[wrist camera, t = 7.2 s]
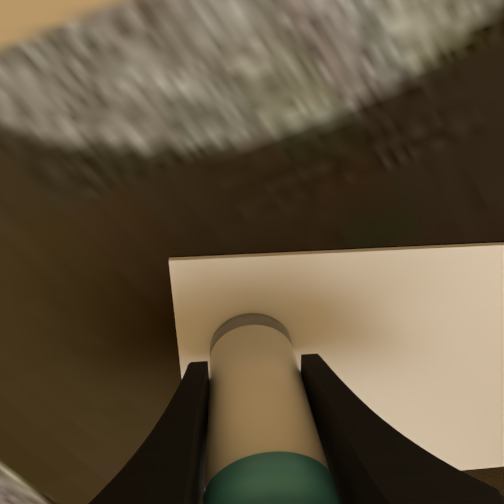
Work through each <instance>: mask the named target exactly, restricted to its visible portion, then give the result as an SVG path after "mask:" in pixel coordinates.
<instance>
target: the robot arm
mask: <svg viewBox="0 0 504 504" xmlns="http://www.w3.org/2000/svg"><path fill="white" fill-rule="evenodd" d="M300 373H301V377H302V380H303V383H304V387H305V390H306V394H307V397H308V400H309V404H310V407H311V410H312V414H313V417H314V421H315V424H316V427H317V431H318V434H319V438H320V441H321V444H322V448H323V451H324V455H325V458H326V461H327V465H328V468H329V471H330V473H331V475H332V476H333V479H334V482H335V485H336V488H337V492H338V495H339V498H340V502H341V504H504V497H503V496H502V495H501V494H500V493H499V491H498V490H497V489H496V488H494V487H492V486H490V485H488V484H486V483H484V482H482V481H480V480H478V479H476V478H474V477H472V476H470V475H468V474H466V473H464V472H462V471H460V470H458V469H456V468H455V467H453V466H451V465H450V464H448V463H446V462H444V461H443V460H441V459H439V458H437V457H436V456H434V455H433V454H431V453H429V452H428V451H426V450H425V449H423V448H422V447H420V446H419V445H417V444H416V443H414V442H413V441H411V440H410V439H408V438H407V437H405V436H404V435H403V434H401V433H400V432H398V431H397V430H396V429H395V428H393V427H392V426H391V425H389V424H388V423H387V422H386V421H384V420H383V419H382V418H381V417H379V416H378V415H377V414H376V413H375V412H374V411H372V410H371V409H370V408H369V407H368V406H367V405H366V404H365V403H364V402H363V401H362V400H361V399H360V398H359V397H357V396H356V395H355V394H354V393H353V392H352V390H351V389H350V388H349V387H348V386H347V385H346V384H345V383H344V382H343V381H342V380H341V379H340V378H339V377H338V376H337V375H336V374H335V372H334V371H333V370H332V369H331V368H330V367H329V366H328V365H327V363H326V362H325V361H324V360H323V359H322V358H321V356H320V355H319V354H303V355H301V371H300ZM208 399H209V372H208V361H200V362H190V363H189V364H188V366H187V369H186V371H185V374H184V376H183V378H182V380H181V383H180V385H179V387H178V389H177V391H176V392H175V394H174V396H173V398H172V400H171V401H170V403H169V405H168V407H167V408H166V410H165V412H164V413H163V415H162V416H161V418H160V419H159V421H158V423H157V424H156V426H155V427H154V429H153V430H152V432H151V433H150V434H149V436H148V437H147V439H146V440H145V441H144V443H143V444H142V445H141V446H140V448H139V449H138V450H137V452H136V453H135V454H134V455H133V456H132V458H131V459H130V460H129V461H128V462H127V464H126V465H125V466H124V467H123V468H122V469H121V471H120V472H119V473H118V474H117V475H116V476H115V477H114V478H113V479H112V480H111V481H110V482H109V483H108V484H107V486H106V487H105V488H104V489H103V490H102V491H101V492H100V493H99V494H98V495H97V496H96V497H95V498H94V499H93V500H92V501H91V502H90V503H89V504H203V495H204V491H205V476H206V449H207V422H208Z"/></svg>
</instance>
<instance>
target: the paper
mask: <svg viewBox="0 0 504 504" xmlns="http://www.w3.org/2000/svg"><path fill="white" fill-rule="evenodd" d="M169 270H170V279H171V288H172V297H173V306H174V315H175V324H176V333H177V342H178V351H179V360H180V369H181V378H183V376H184V374H185V371H186V369H187V366H188V364H189V363H190V362H200V361H208V372H209V368H210V344H211V340H212V337H213V335H214V333H215V332H216V330H217V329H218V328H219V327H220V326H221V325H222V324H223V323H224V322H226V321H227V320H229V319H231V318H233V317H235V316H238V315H242V314H248V313H258V314H264V315H268V316H270V317H273V318H274V319H276V320H278V321H279V322H280V323H281V324H282V325H283V326H284V327H285V328H286V330H287V331H288V333H289V336H290V339H291V343H292V346H293V350H294V353H295V356H296V360H297V363H298V366H299V370H300V371H301V355H303V354H319V355H320V356H321V358H322V359H323V360H324V361H325V362H326V363H327V365H328V366H329V367H330V368H331V369H332V370H333V371H334V372H335V374H336V375H337V376H338V377H339V378H340V379H341V380H342V381H343V382H344V383H345V384H346V385H347V386H348V387H349V388H350V389H351V390H352V392H353V393H354V394H355V395H356V396H357V397H359V398H360V399H361V400H362V401H363V402H364V403H365V404H366V405H367V406H368V407H369V408H370V409H371V410H372V411H374V412H375V413H376V414H377V415H378V416H379V417H381V418H382V419H383V420H384V421H386V422H387V423H388V424H389V425H391V426H392V427H393V428H395V429H396V430H397V431H398V432H400V433H401V434H403V435H404V436H405V437H407V438H408V439H410V440H411V441H413V442H414V443H416V444H417V445H419V446H420V447H422V448H423V449H425V450H426V451H428V452H429V453H431V454H433V455H434V456H436V457H437V458H439V459H441V460H443V461H444V462H446V463H448V464H450V465H451V466H453V467H455V468H456V469H458V470H460V471H461V470H472V469H482V468H493V467H503V466H504V242H496V243H475V244H453V245H432V246H410V247H389V248H367V249H345V250H324V251H302V252H281V253H259V254H238V255H216V256H195V257H173V258H169Z"/></svg>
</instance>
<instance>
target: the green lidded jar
mask: <svg viewBox="0 0 504 504" xmlns="http://www.w3.org/2000/svg"><path fill="white" fill-rule="evenodd" d="M203 504H341V502H340V498H339V495H338V492H337V488H336V485H335V482H334V479H333V476H332V475H331V473H330V471H329V468H328V465H327V461H326V458H325V455H324V451H323V448H322V444H321V441H320V438H319V434H318V431H317V427H316V424H315V421H314V417H313V414H312V410H311V407H310V404H309V400H308V397H307V394H306V390H305V387H304V383H303V380H302V377H301V373H300V370H299V366H298V363H297V360H296V356H295V353H294V350H293V346H292V343H291V339H290V336H289V333H288V331H287V330H286V328H285V327H284V326H283V325H282V324H281V323H280V322H279V321H278V320H276V319H274V318H273V317H270V316H268V315H264V314H258V313H248V314H242V315H238V316H235V317H233V318H231V319H229V320H227V321H226V322H224V323H223V324H222V325H221V326H220V327H219V328H218V329H217V330H216V332H215V333H214V335H213V337H212V340H211V344H210V368H209V399H208V422H207V449H206V476H205V491H204V495H203Z"/></svg>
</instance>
